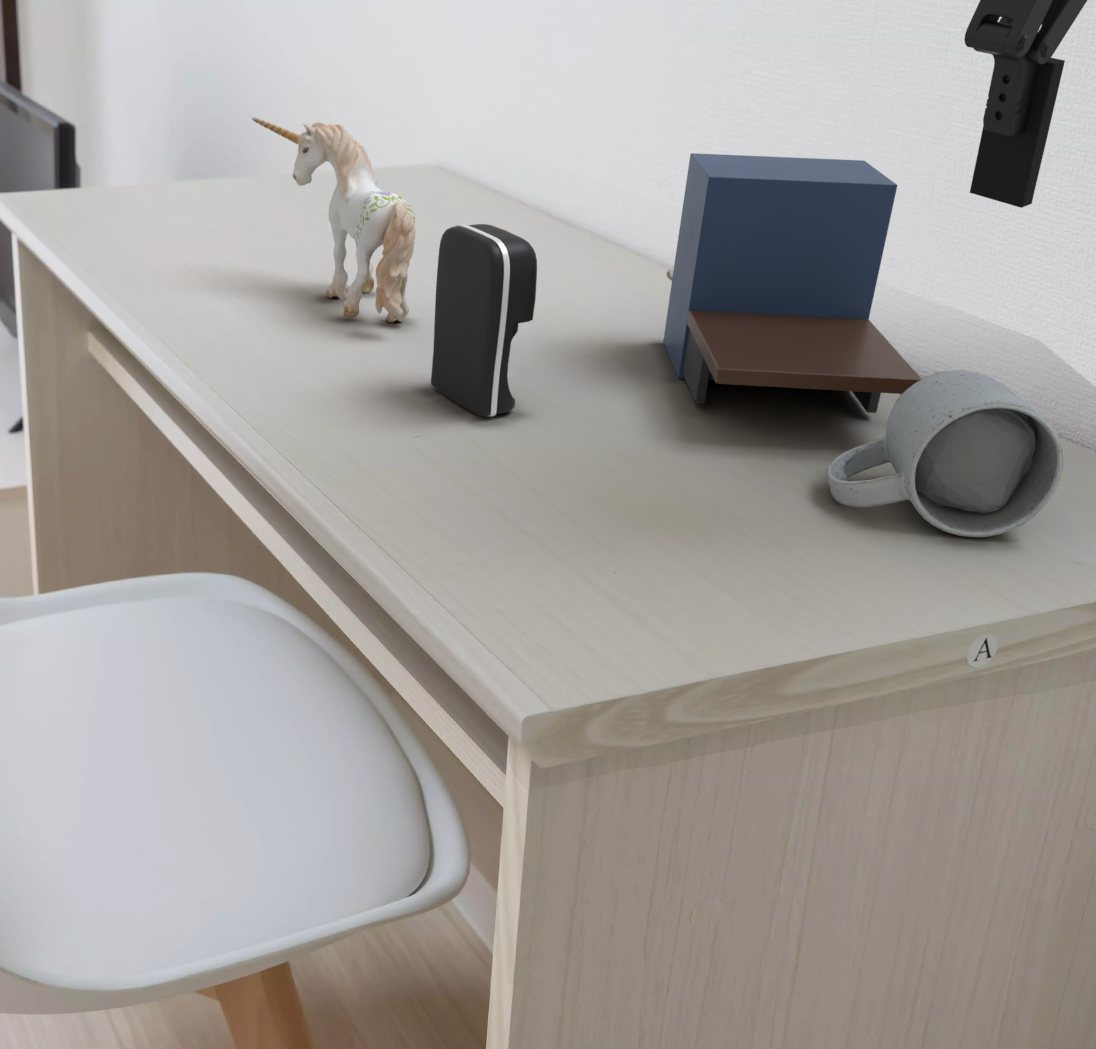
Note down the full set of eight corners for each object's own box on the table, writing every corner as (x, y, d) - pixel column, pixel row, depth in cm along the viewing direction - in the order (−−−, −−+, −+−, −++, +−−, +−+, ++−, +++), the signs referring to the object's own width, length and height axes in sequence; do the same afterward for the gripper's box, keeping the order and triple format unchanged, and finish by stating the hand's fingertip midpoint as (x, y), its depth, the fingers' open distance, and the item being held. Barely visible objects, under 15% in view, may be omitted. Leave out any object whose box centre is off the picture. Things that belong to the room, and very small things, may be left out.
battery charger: (532, 414, 87) (550, 239, 82) (482, 422, 86) (498, 245, 81) (474, 379, 93) (487, 214, 88) (426, 387, 91) (437, 219, 86)
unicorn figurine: (320, 268, 117) (324, 110, 111) (464, 328, 103) (478, 151, 97) (250, 279, 114) (250, 116, 108) (390, 343, 99) (399, 160, 93)
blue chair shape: (826, 351, 100) (864, 160, 94) (905, 456, 82) (959, 229, 76) (662, 342, 101) (690, 153, 95) (705, 444, 83) (743, 220, 77)
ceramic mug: (996, 481, 79) (1027, 357, 76) (1045, 543, 72) (1082, 409, 68) (810, 471, 80) (832, 348, 77) (839, 531, 73) (866, 398, 70)
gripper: (1291, -370, 62) (1163, 94, 74) (934, -323, 52) (851, 206, 63) (1480, -378, 56) (1309, 124, 68) (1122, -328, 46) (994, 252, 58)
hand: (1088, 165), depth 66 cm, fingers open, 13 cm apart
